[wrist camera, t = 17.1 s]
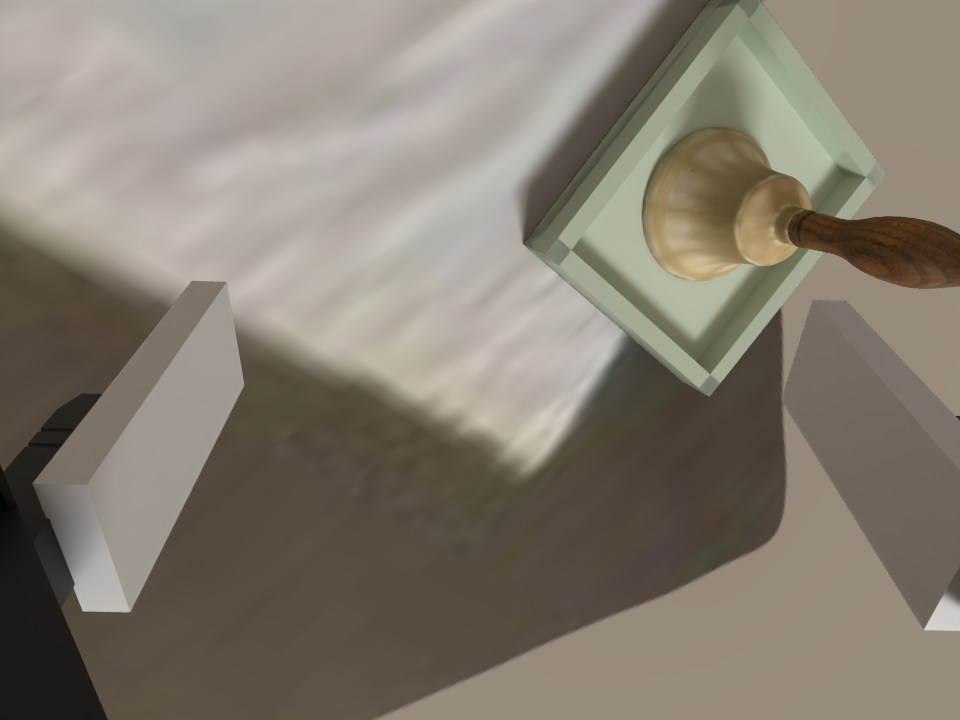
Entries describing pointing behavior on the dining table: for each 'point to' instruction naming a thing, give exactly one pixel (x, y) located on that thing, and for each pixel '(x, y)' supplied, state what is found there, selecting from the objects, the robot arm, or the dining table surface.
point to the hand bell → (773, 220)
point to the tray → (642, 146)
